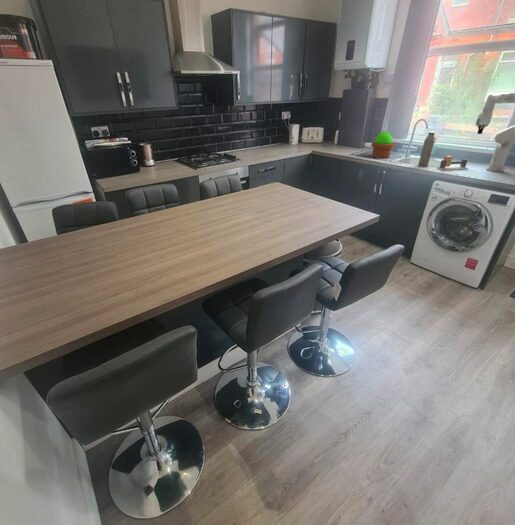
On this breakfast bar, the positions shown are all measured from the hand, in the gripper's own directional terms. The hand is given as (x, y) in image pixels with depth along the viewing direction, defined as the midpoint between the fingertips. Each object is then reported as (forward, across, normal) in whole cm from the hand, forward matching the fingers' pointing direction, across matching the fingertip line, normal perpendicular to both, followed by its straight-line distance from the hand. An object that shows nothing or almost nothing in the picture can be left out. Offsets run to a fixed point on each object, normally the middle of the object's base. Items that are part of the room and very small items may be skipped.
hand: (479, 133), depth 254 cm
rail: (+27, +23, +8) cm, 36 cm away
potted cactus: (+27, +56, -56) cm, 84 cm away
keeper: (+24, +30, +8) cm, 39 cm away
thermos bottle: (+27, +40, -8) cm, 49 cm away
